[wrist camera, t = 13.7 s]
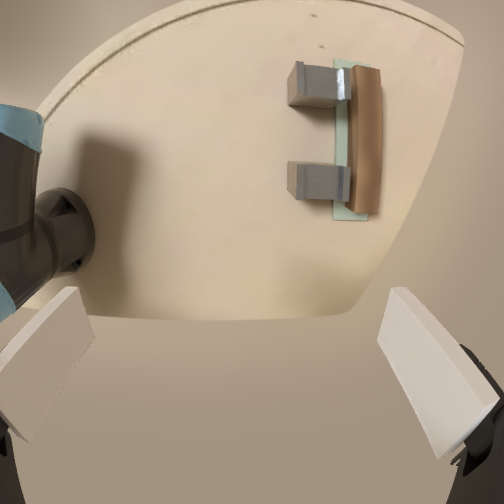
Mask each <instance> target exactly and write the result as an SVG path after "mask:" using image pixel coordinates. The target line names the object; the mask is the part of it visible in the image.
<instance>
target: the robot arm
mask: <svg viewBox="0 0 504 504" xmlns="http://www.w3.org/2000/svg"><path fill="white" fill-rule="evenodd" d="M43 130H44V120H43V118H42V116H41V115H40V114H39V113H37V112H35V111H32V110H29V109H25V108H21V107H16V106H11V105H5V104H0V322H2V321H3V320H5V319H6V318H7V317H8V316H10V315H11V314H14V313H15V312H16V310H18V309H19V308H20V307H21V306H22V305H23V304H24V303H25V302H26V301H27V300H28V299H29V298H30V297H31V296H32V295H34V294H35V293H36V292H37V291H38V290H39V289H40V288H41V287H42V286H44V285H45V284H46V283H47V282H48V281H49V280H51V279H53V278H57V277H62V276H66V275H70V274H73V273H75V272H77V271H78V270H79V269H81V268H82V267H83V266H84V265H85V264H86V263H87V262H88V261H89V259H90V257H91V255H92V252H93V249H94V241H95V235H94V227H93V223H92V219H91V216H90V214H89V212H88V210H87V208H86V206H85V205H84V203H83V202H82V200H81V199H80V198H79V197H78V196H77V195H76V194H74V193H73V192H71V191H69V190H67V189H63V188H55V189H51V190H48V191H45V192H43V193H42V194H40V195H39V196H38V197H37V198H36V199H35V196H36V183H37V173H38V166H39V159H40V154H41V153H42V149H41V145H42V137H43ZM94 338H95V336H94V334H93V331H92V328H91V326H90V322H89V320H88V317H87V314H86V311H85V307H84V304H83V301H82V298H81V294H80V291H79V287H72V286H66V287H64V288H63V289H62V290H61V291H60V292H59V293H58V294H57V295H56V296H55V297H54V298H53V299H51V300H50V301H49V302H48V303H47V304H46V305H45V306H44V307H43V308H42V309H41V310H40V311H39V312H38V313H37V314H36V315H35V316H34V317H33V318H32V319H31V320H30V321H29V322H28V323H27V324H26V325H25V326H24V327H23V328H22V329H21V330H20V332H19V333H18V334H17V335H16V336H15V337H14V338H13V339H12V340H11V341H10V342H9V343H8V344H7V345H6V346H5V347H4V348H3V349H2V350H1V352H0V504H26V503H25V500H24V497H23V493H22V490H21V486H20V482H19V478H18V474H17V469H16V464H15V459H14V453H13V447H12V440H11V436H10V434H9V432H8V431H7V430H8V428H9V427H10V428H11V430H12V431H13V432H14V433H15V434H16V435H17V436H18V437H19V438H21V439H23V440H25V441H26V442H28V443H30V444H31V443H32V441H33V439H34V437H35V435H36V434H37V432H38V430H39V428H40V426H41V424H42V422H43V421H44V419H45V417H46V415H47V413H48V412H49V410H50V408H51V406H52V405H53V403H54V401H55V399H56V397H57V396H58V394H59V393H60V391H61V389H62V388H63V386H64V384H65V383H66V381H67V380H68V378H69V376H70V375H71V373H72V372H73V370H74V368H75V367H76V365H77V364H78V362H79V361H80V359H81V358H82V356H83V355H84V353H85V352H86V350H87V348H88V347H89V345H90V344H91V343H92V341H93V340H94ZM377 342H378V344H379V346H380V347H381V349H382V351H383V352H384V355H385V356H386V358H387V360H388V362H389V363H390V365H391V367H392V369H393V371H394V373H395V374H396V376H397V378H398V380H399V382H400V384H401V386H402V387H403V389H404V391H405V393H406V395H407V397H408V399H409V401H410V403H411V405H412V407H413V409H414V411H415V413H416V415H417V417H418V419H419V421H420V423H421V425H422V427H423V429H424V431H425V433H426V435H427V437H428V440H429V442H430V444H431V446H432V449H433V451H434V453H435V455H436V458H437V459H439V458H441V457H444V456H445V455H448V454H450V453H452V452H454V451H455V450H456V449H457V448H458V447H459V446H460V445H461V444H462V443H463V442H464V443H465V445H466V447H465V448H464V449H463V450H462V451H461V452H460V453H459V454H458V455H457V456H456V457H455V458H454V459H452V461H451V463H450V464H451V465H453V464H454V463H455V462H456V461H457V460H458V459H459V458H460V461H459V462H458V463H457V464H456V466H458V469H457V473H456V476H455V479H454V483H453V486H452V489H451V492H450V494H449V497H448V500H447V503H446V504H504V392H503V391H502V389H501V388H500V387H499V385H498V384H497V383H496V381H495V380H494V379H493V378H492V376H491V375H490V373H489V372H488V371H487V370H485V367H484V366H483V365H482V363H481V362H479V360H478V358H477V357H476V356H475V355H474V354H473V353H472V352H471V351H470V350H469V349H468V348H466V347H465V346H463V345H462V344H460V345H459V344H458V343H457V342H456V341H455V340H454V338H453V337H452V336H451V335H450V334H449V333H448V331H447V330H446V329H445V328H444V327H443V326H442V325H441V324H440V323H439V321H438V320H437V319H436V318H435V317H434V316H433V315H432V314H431V312H429V310H428V309H427V308H426V307H425V306H424V305H423V304H422V303H421V302H420V301H419V300H418V299H417V298H416V297H415V296H414V294H413V293H412V292H411V291H410V290H408V288H407V287H405V286H404V287H391V289H390V293H389V298H388V301H387V305H386V309H385V313H384V316H383V320H382V323H381V327H380V330H379V334H378V337H377Z"/></svg>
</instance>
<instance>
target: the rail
mask: <svg viewBox="0 0 504 504" xmlns="http://www.w3.org/2000/svg"><path fill="white" fill-rule="evenodd" d="M350 81H351V100H349V101H347V112H348V140H347V167H351V171H350V190H349V202H345V207H346V208H348V209H349V210H351V211H352V212H354V213H372V214H378V205H379V194H380V180H381V163H382V94H381V77H380V70H379V69H375V68H370V67H366V66H361V65H355V66H353V67H352V68H351V69H350Z"/></svg>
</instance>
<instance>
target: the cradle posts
mask: <svg viewBox="0 0 504 504" xmlns="http://www.w3.org/2000/svg"><path fill="white" fill-rule="evenodd" d="M349 100H351V81H350V68H346V67H343V68H341V69H336V68H329V67H321V66H313V65H304V62H300V61H296V63H295V66H294V68H293V70H292V72H291V73H290V75H289V77H288V105H293V106H308V107H319V108H329V109H331V108H333V107H335V106H337V105H339V104H341V103H343V102H345V101H349ZM350 171H351V167H346V166H341V165H335V164H330V163H314V162H290V161H288V177H287V190H288V191H289V192H290V193H291V194H292V195H293V196H294V198H295V199H296V200H303V199H329V200H340V201H342V202H349V190H350Z"/></svg>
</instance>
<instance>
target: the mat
mask: <svg viewBox="0 0 504 504" xmlns="http://www.w3.org/2000/svg"><path fill="white" fill-rule="evenodd" d="M355 65H361V66H366V67H370V65H368V64H363V63H358V62H353V61H348V60H342V59H336V58H335V59H334V68H336V69H341V68H343V67H346V68H350V69H351V68H352V67H353V66H355ZM335 108H336V141H335V165H341V166H346V167H347V140H348V112H347V101H345V102H343V103H341V104H339V105H337V106H335ZM367 217H368V213H354V212H352V211H351V210H349V209H348V208H346V207H345V202H342V201H340V200H333V211H332V219H333V220H364V221H367Z"/></svg>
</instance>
